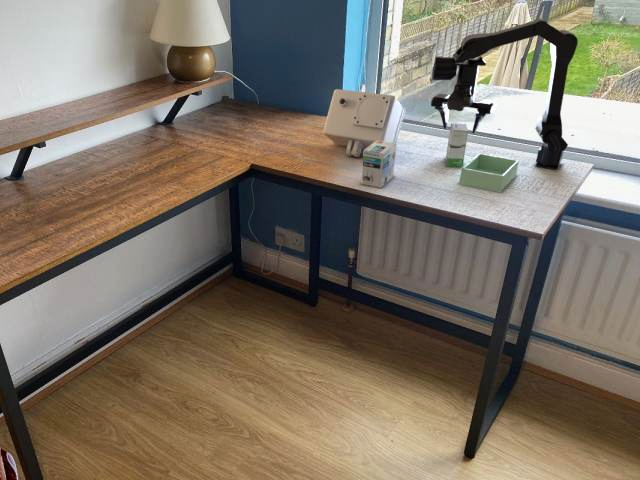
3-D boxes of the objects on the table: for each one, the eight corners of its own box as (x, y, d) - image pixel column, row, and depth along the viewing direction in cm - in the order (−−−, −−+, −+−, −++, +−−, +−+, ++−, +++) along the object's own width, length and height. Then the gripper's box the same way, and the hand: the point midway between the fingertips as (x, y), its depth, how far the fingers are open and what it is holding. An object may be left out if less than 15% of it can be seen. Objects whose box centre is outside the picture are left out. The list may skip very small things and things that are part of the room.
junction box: (310, 144, 201) (328, 80, 200) (326, 156, 215) (343, 96, 213) (377, 155, 190) (396, 87, 189) (389, 167, 204) (407, 104, 202)
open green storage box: (515, 175, 184) (519, 160, 181) (500, 192, 174) (503, 176, 171) (476, 168, 190) (479, 153, 187) (459, 183, 180) (461, 168, 177)
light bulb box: (381, 188, 179) (384, 153, 173) (360, 184, 182) (362, 150, 176) (394, 176, 186) (397, 142, 181) (373, 172, 190) (376, 139, 184)
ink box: (463, 167, 191) (469, 130, 185) (447, 166, 192) (452, 130, 186) (460, 157, 198) (466, 122, 192) (445, 157, 199) (450, 122, 193)
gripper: (426, 82, 181) (421, 133, 189) (488, 90, 171) (479, 143, 179) (441, 74, 188) (434, 123, 196) (501, 81, 178) (491, 132, 187)
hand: (459, 130), depth 189 cm, fingers open, 9 cm apart
